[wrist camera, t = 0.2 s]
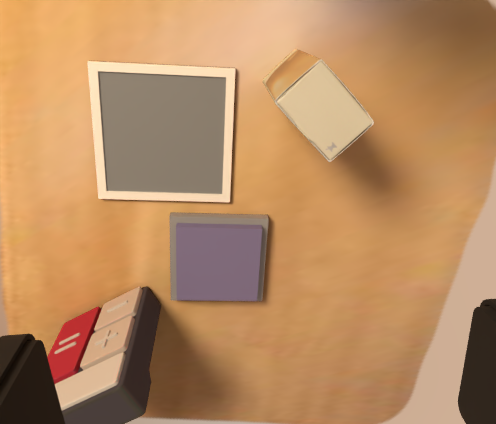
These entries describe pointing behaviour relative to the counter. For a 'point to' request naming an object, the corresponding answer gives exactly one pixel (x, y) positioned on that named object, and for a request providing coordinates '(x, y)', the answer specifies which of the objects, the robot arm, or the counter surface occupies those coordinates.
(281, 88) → the skincare box
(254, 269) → the ink pad
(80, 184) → the counter surface
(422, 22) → the counter surface
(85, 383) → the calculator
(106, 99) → the white picture frame
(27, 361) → the robot arm
